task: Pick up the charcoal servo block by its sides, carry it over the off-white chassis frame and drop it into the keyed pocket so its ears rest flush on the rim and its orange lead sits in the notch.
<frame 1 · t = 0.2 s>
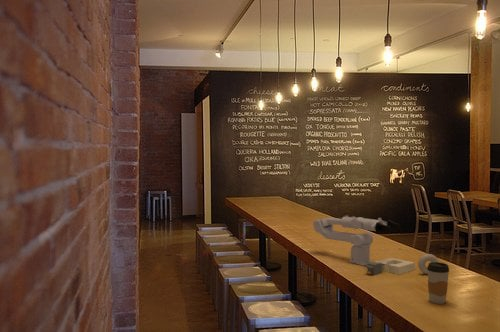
hand: (395, 227, 253), 21 cm above the table, tool horizontal, fingers open, 7 cm apart
coffee cup: (437, 301, 207), on the table
servo: (374, 273, 249), on the table
chassis: (394, 269, 257), on the table
donut: (428, 274, 248), on the table
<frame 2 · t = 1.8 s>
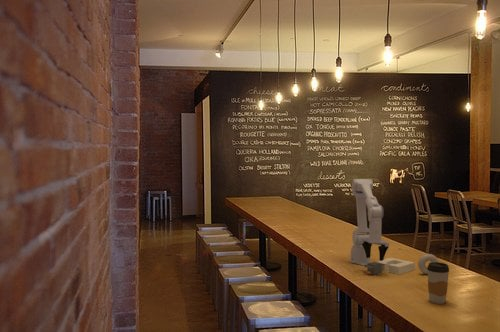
hand: (374, 259, 249), 7 cm above the table, tool pointing down, fingers open, 7 cm apart
nothing on the table moved.
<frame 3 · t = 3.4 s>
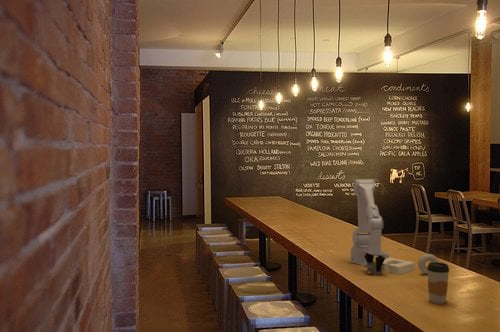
hand: (374, 270, 249), 1 cm above the table, tool pointing down, fingers closed on servo, 4 cm apart
servo: (374, 273, 249), on the table, touching gripper
everything else where it was.
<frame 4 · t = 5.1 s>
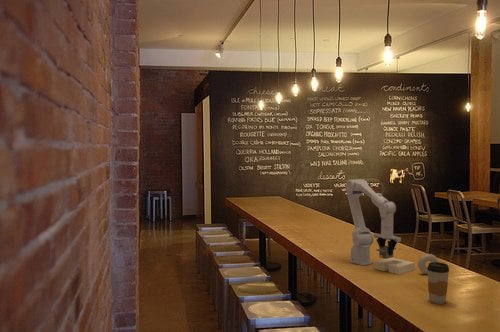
hand: (386, 254, 253), 8 cm above the table, tool pointing down, fingers closed on servo, 4 cm apart
servo: (386, 257, 253), point 7 cm above the table, touching gripper
everything else where it was.
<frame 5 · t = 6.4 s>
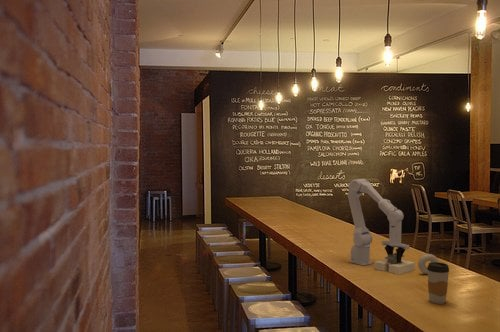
hand: (394, 261, 257), 4 cm above the table, tool pointing down, fingers closed on servo, 4 cm apart
servo: (394, 264, 257), point 2 cm above the table, touching gripper
everything else where it was.
when the fingers open (4 cm above the table, at t = 7.1 s): servo drops 2 cm, resting on chassis.
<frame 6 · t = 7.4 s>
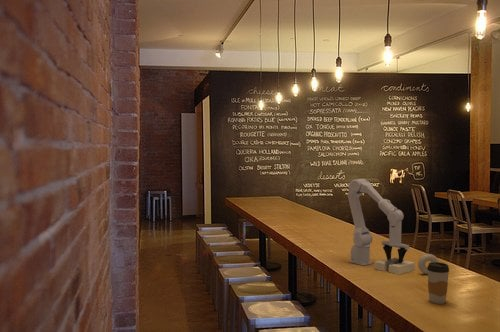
hand: (394, 261, 257), 4 cm above the table, tool pointing down, fingers open, 6 cm apart
servo: (394, 269, 257), resting on chassis
everything else where it was.
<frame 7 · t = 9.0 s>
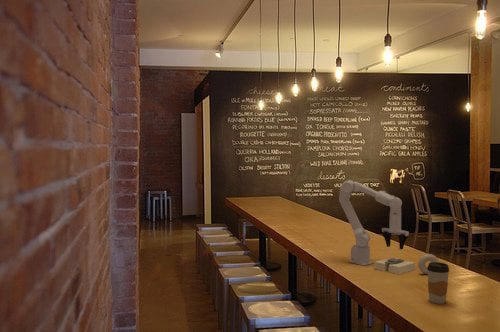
hand: (394, 247, 263), 9 cm above the table, tool pointing down, fingers open, 7 cm apart
nothing on the table moved.
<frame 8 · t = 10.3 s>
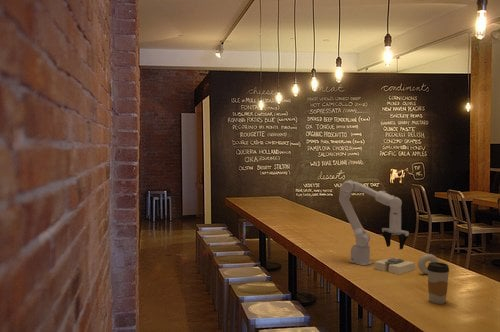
hand: (394, 247, 264), 9 cm above the table, tool pointing down, fingers open, 7 cm apart
nothing on the table moved.
at the end: servo 0.2 cm off-centre on the chassis, point 0.0 cm above the chassis's base; servo tilted 0°; the gripper is holding nothing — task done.
